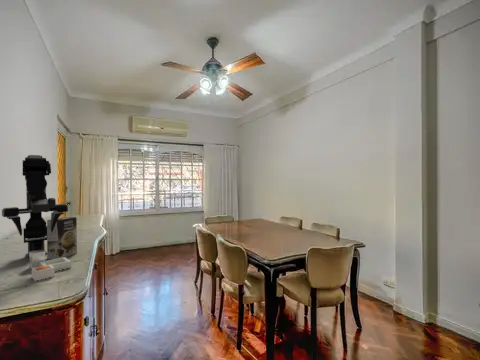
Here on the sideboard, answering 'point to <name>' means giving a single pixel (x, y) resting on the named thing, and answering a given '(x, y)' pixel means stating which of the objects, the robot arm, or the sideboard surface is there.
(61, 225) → the coffee box
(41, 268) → the button
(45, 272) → the button housing
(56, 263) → the white square tray
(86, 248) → the sideboard surface
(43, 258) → the billet
